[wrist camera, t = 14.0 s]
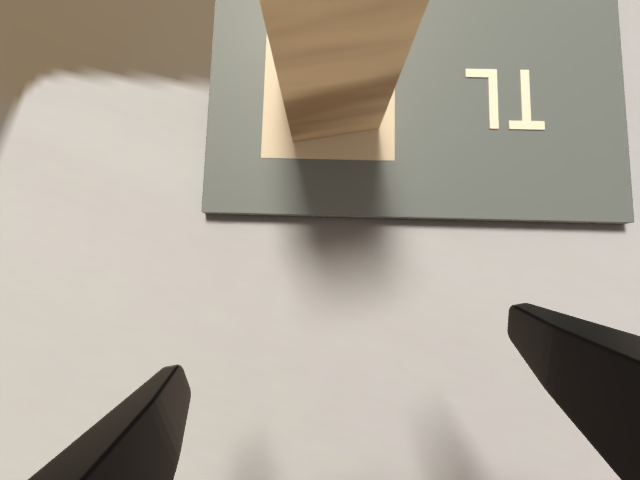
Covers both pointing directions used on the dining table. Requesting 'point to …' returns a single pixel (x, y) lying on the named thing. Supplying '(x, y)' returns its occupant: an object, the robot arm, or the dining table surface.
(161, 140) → the dining table surface
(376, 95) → the maple block
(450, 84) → the slate board
